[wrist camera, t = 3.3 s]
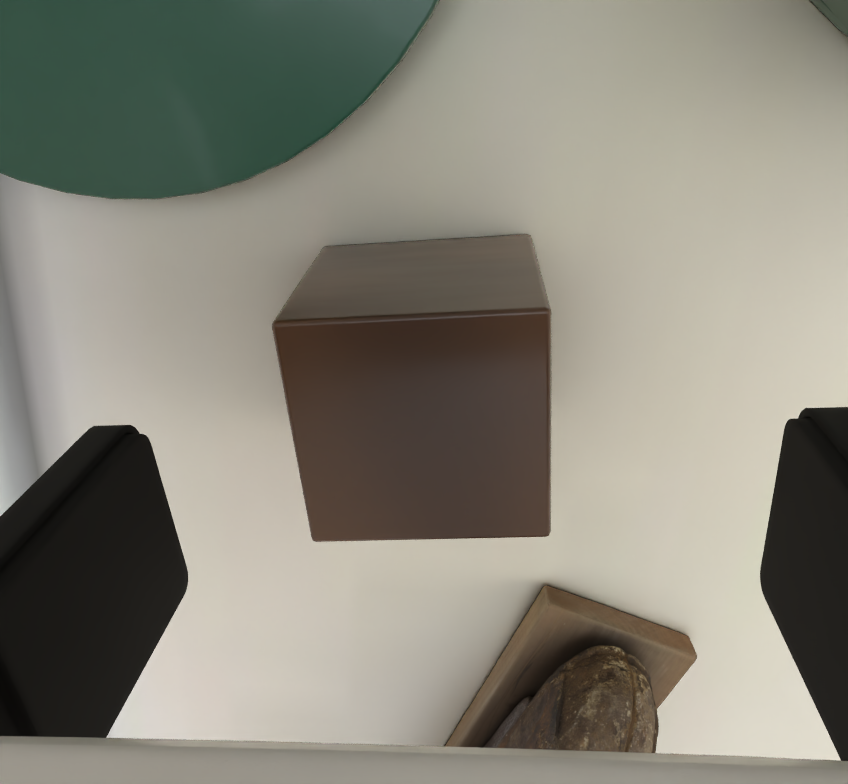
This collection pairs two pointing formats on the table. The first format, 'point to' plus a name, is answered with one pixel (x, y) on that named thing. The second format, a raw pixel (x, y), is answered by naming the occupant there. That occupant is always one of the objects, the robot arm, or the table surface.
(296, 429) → the block
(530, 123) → the table surface
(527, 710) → the figurine
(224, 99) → the lid
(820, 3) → the tin
